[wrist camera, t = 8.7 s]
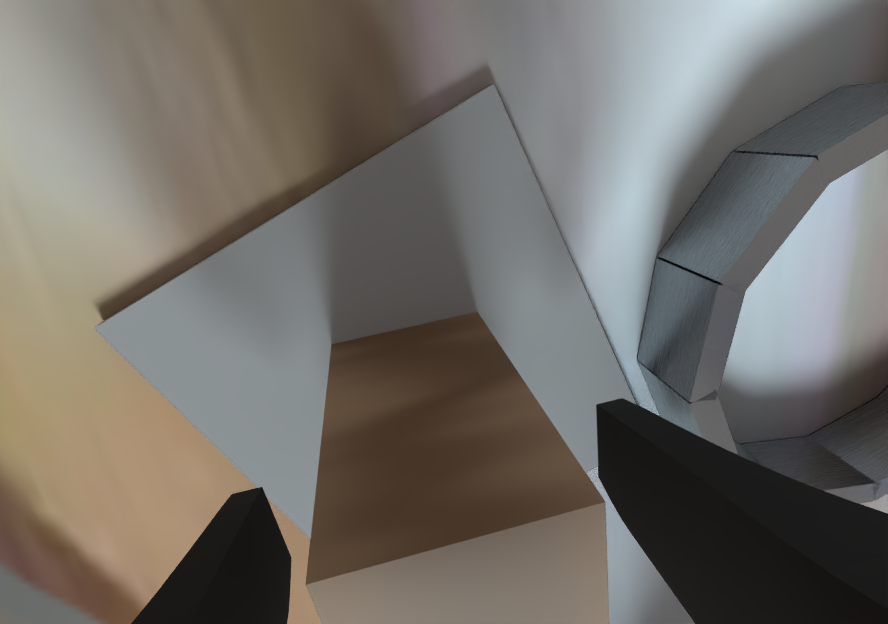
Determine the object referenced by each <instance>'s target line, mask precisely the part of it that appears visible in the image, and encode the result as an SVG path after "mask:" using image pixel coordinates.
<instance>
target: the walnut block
mask: <svg viewBox="0 0 888 624" xmlns="http://www.w3.org/2000/svg"><path fill="white" fill-rule="evenodd" d="M306 587H307V589H308V592H309V594H310V597H311V599H312V601H313V604H314V606H315V609H316V611H317V614H318V616H319V618H320V621H321V623H322V624H609V607H608V574H607V540H606V507H605V501H604V499H603V498H602V496H601V495H600V493H599V492H598V490H597V489H596V487H595V486H594V484H593V483H592V481H591V480H590V478H589V477H588V475H587V474H586V472H585V471H584V469H583V468H582V467H581V465H580V464H579V462H578V461H577V459H576V458H575V456H574V455H573V453H572V452H571V450H570V449H569V447H568V446H567V444H566V443H565V441H564V440H563V438H562V437H561V435H560V434H559V432H558V431H557V429H556V428H555V426H554V425H553V423H552V422H551V420H550V419H549V417H548V416H547V414H546V413H545V411H544V410H543V408H542V407H541V405H540V404H539V402H538V401H537V399H536V398H535V397H534V395H533V394H532V392H531V391H530V389H529V388H528V386H527V385H526V383H525V382H524V380H523V379H522V377H521V376H520V374H519V373H518V371H517V370H516V368H515V367H514V365H513V364H512V362H511V361H510V359H509V358H508V356H507V355H506V353H505V352H504V350H503V349H502V347H501V346H500V344H499V343H498V341H497V340H496V338H495V337H494V335H493V334H492V332H491V331H490V329H489V328H488V326H487V325H486V324H485V322H484V321H483V319H482V318H481V316H480V315H479V313H478V312H474V313H469V314H465V315H460V316H456V317H451V318H447V319H442V320H438V321H433V322H429V323H425V324H420V325H416V326H411V327H407V328H402V329H398V330H393V331H389V332H384V333H380V334H375V335H371V336H366V337H362V338H358V339H353V340H349V341H344V342H340V343H335V344H331V353H330V362H329V372H328V381H327V390H326V400H325V409H324V418H323V427H322V437H321V446H320V455H319V465H318V474H317V483H316V493H315V502H314V511H313V521H312V530H311V539H310V549H309V558H308V567H307V576H306Z"/></svg>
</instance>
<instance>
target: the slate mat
mask: <svg viewBox="0 0 888 624" xmlns="http://www.w3.org/2000/svg"><path fill="white" fill-rule="evenodd" d="M474 312H478V313H479V315H480V316H481V318H482V319H483V321H484V322H485V324H486V325H487V326H488V328H489V329H490V331H491V332H492V334H493V335H494V337H495V338H496V340H497V341H498V343H499V344H500V346H501V347H502V349H503V350H504V352H505V353H506V355H507V356H508V358H509V359H510V361H511V362H512V364H513V365H514V367H515V368H516V370H517V371H518V373H519V374H520V376H521V377H522V379H523V380H524V382H525V383H526V385H527V386H528V388H529V389H530V391H531V392H532V394H533V395H534V397H535V398H536V399H537V401H538V402H539V404H540V405H541V407H542V408H543V410H544V411H545V413H546V414H547V416H548V417H549V419H550V420H551V422H552V423H553V425H554V426H555V428H556V429H557V431H558V432H559V434H560V435H561V437H562V438H563V440H564V441H565V443H566V444H567V446H568V447H569V449H570V450H571V452H572V453H573V455H574V456H575V458H576V459H577V461H578V462H579V464H580V465H581V467H582V468H583V469H584V471H585V472H588V471H590V470H592V469H593V468H595V467H597V466H598V445H597V414H596V404H600V403H604V402H608V401H612V400H616V399H620V398H623V399H626V400H628V401H630V402H632V403H634V404H636V402H635V400H634V398H633V396H632V393H631V391H630V389H629V387H628V384H627V382H626V380H625V378H624V375H623V373H622V371H621V369H620V366H619V364H618V362H617V360H616V357H615V355H614V353H613V351H612V348H611V346H610V344H609V342H608V339H607V337H606V335H605V333H604V330H603V328H602V326H601V324H600V321H599V319H598V317H597V315H596V312H595V310H594V308H593V306H592V303H591V301H590V299H589V296H588V294H587V292H586V290H585V287H584V285H583V283H582V281H581V278H580V276H579V274H578V272H577V269H576V267H575V265H574V263H573V260H572V258H571V256H570V254H569V251H568V249H567V247H566V245H565V242H564V240H563V238H562V236H561V233H560V231H559V229H558V227H557V224H556V222H555V220H554V218H553V215H552V213H551V211H550V209H549V206H548V204H547V202H546V200H545V197H544V195H543V193H542V191H541V188H540V186H539V184H538V182H537V179H536V177H535V175H534V173H533V170H532V168H531V166H530V164H529V161H528V159H527V157H526V155H525V152H524V150H523V148H522V146H521V143H520V141H519V139H518V137H517V134H516V132H515V130H514V128H513V125H512V123H511V121H510V119H509V116H508V114H507V112H506V109H505V107H504V105H503V103H502V100H501V98H500V96H499V94H498V91H497V89H496V87H495V85H494V84H492V85H489V86H488V87H486V88H484V89H483V90H481V91H479V92H478V93H476V94H474V95H473V96H471V97H470V98H468V99H466V100H465V101H463V102H461V103H460V104H458V105H456V106H455V107H453V108H452V109H450V110H448V111H447V112H445V113H443V114H442V115H440V116H438V117H437V118H435V119H434V120H432V121H430V122H429V123H427V124H425V125H424V126H422V127H420V128H419V129H417V130H416V131H414V132H412V133H411V134H409V135H407V136H406V137H404V138H402V139H401V140H399V141H398V142H396V143H394V144H393V145H391V146H389V147H388V148H386V149H384V150H383V151H381V152H379V153H378V154H376V155H375V156H373V157H371V158H370V159H368V160H366V161H365V162H363V163H361V164H360V165H358V166H357V167H355V168H353V169H352V170H350V171H348V172H347V173H345V174H343V175H342V176H340V177H339V178H337V179H335V180H334V181H332V182H330V183H329V184H327V185H325V186H324V187H322V188H321V189H319V190H317V191H316V192H314V193H312V194H311V195H309V196H307V197H306V198H304V199H303V200H301V201H299V202H298V203H296V204H294V205H293V206H291V207H289V208H288V209H286V210H284V211H283V212H281V213H280V214H278V215H276V216H275V217H273V218H271V219H270V220H268V221H266V222H265V223H263V224H262V225H260V226H258V227H257V228H255V229H253V230H252V231H250V232H248V233H247V234H245V235H244V236H242V237H240V238H239V239H237V240H235V241H234V242H232V243H230V244H229V245H227V246H226V247H224V248H222V249H221V250H219V251H217V252H216V253H214V254H212V255H211V256H209V257H208V258H206V259H204V260H203V261H201V262H199V263H198V264H196V265H194V266H193V267H191V268H189V269H188V270H186V271H185V272H183V273H181V274H180V275H178V276H176V277H175V278H173V279H171V280H170V281H168V282H167V283H165V284H163V285H162V286H160V287H158V288H157V289H155V290H153V291H152V292H150V293H149V294H147V295H145V296H144V297H142V298H140V299H139V300H137V301H135V302H134V303H132V304H131V305H129V306H127V307H126V308H124V309H122V310H121V311H119V312H117V313H116V314H114V315H113V316H111V317H109V318H108V319H106V320H104V321H103V322H101V323H100V324H99V325H97V326H96V327H95V328H94V329H95V330H96V331H97V332H98V333H99V334H100V335H101V336H102V337H103V338H104V339H105V340H106V341H107V342H108V343H109V344H110V345H111V346H112V347H113V348H114V349H115V350H116V351H117V352H118V353H119V354H120V355H122V356H123V357H124V358H125V359H126V360H127V361H128V362H129V363H130V364H131V365H132V366H133V367H134V368H135V369H136V370H137V371H138V372H139V373H140V374H141V375H142V376H143V377H144V378H145V379H146V380H147V381H148V382H149V383H150V384H151V385H152V386H153V387H154V388H155V389H156V390H157V391H159V392H160V393H161V394H162V395H163V396H164V397H165V398H166V399H167V400H168V401H169V402H170V403H171V404H172V405H173V406H174V407H175V408H176V409H177V410H178V411H179V412H180V413H181V414H182V415H183V416H184V417H185V418H186V419H187V420H188V421H189V422H190V423H191V424H192V425H193V426H194V427H195V428H197V429H198V430H199V431H200V432H201V433H202V434H203V435H204V436H205V437H206V438H207V439H208V440H209V441H210V442H211V443H212V444H213V445H214V446H215V447H216V448H217V449H218V450H219V451H220V452H221V453H222V454H223V455H224V456H225V457H226V458H227V459H228V460H229V461H230V462H231V463H232V464H233V465H235V466H236V467H237V468H238V469H239V470H240V471H241V472H242V473H243V474H244V475H245V476H246V477H247V478H248V479H249V480H250V481H251V482H252V483H253V484H254V485H255V486H256V487H257V488H259V487H263V490H264V492H265V495H266V497H267V498H268V499H269V500H270V501H271V502H273V503H274V504H275V505H276V506H277V507H278V508H279V509H280V510H281V511H282V512H283V513H284V514H285V515H286V516H287V517H288V518H289V519H290V520H291V521H292V522H293V523H294V524H295V525H296V526H297V527H298V528H299V529H300V530H301V531H302V532H303V533H304V534H305V535H306V536H307V537H308V538H309V539H311V530H312V521H313V511H314V502H315V493H316V483H317V474H318V465H319V455H320V446H321V437H322V427H323V418H324V409H325V400H326V390H327V381H328V372H329V362H330V353H331V344H335V343H340V342H344V341H349V340H353V339H358V338H362V337H366V336H371V335H375V334H380V333H384V332H389V331H393V330H398V329H402V328H407V327H411V326H416V325H420V324H425V323H429V322H433V321H438V320H442V319H447V318H451V317H456V316H460V315H465V314H469V313H474Z"/></svg>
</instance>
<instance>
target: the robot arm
mask: <svg viewBox="0 0 888 624" xmlns="http://www.w3.org/2000/svg"><path fill="white" fill-rule="evenodd" d="M596 414H597V445H598V476H599V479H600V481H601V482H602V484H603V486H604V488H605V490H606V492H607V494H608V496H609V498H610V499H611V501H612V503H613V505H614V507H615V508H616V510H617V512H618V514H619V515H620V517H621V519H622V521H623V522H624V523H625V525H626V526H627V528H628V529H629V531H630V532H631V534H632V535H633V536H634V538H635V539H636V541H637V542H638V544H639V545H640V546H641V548H642V549H643V551H644V552H645V554H646V555H647V556H648V558H649V559H650V561H651V562H652V563H653V565H654V566H655V568H656V569H657V570H658V572H659V573H660V575H661V576H662V577H663V579H664V580H665V582H666V583H667V584H668V586H669V587H670V589H671V590H672V591H673V593H674V594H675V596H676V597H677V598H678V600H679V601H680V603H681V604H682V606H683V607H684V608H685V610H686V611H687V613H688V614H689V615H690V617H691V618H692V620H693V621H694V623H695V624H888V514H887V513H884V512H881V511H878V510H875V509H872V508H869V507H866V506H864V505H861V504H858V503H855V502H852V501H850V500H847V499H844V498H842V497H839V496H836V495H834V494H831V493H828V492H826V491H823V490H820V489H817V488H815V487H812V486H809V485H807V484H804V483H802V482H799V481H797V480H794V479H792V478H790V477H787V476H785V475H782V474H780V473H778V472H775V471H773V470H771V469H769V468H766V467H764V466H762V465H759V464H757V463H755V462H753V461H750V460H748V459H746V458H744V457H741V456H739V455H737V454H735V453H733V452H731V451H728V450H726V449H724V448H722V447H720V446H718V445H716V444H714V443H712V442H710V441H708V440H706V439H704V438H701V437H699V436H697V435H695V434H693V433H691V432H689V431H687V430H685V429H683V428H681V427H680V426H678V425H676V424H674V423H672V422H670V421H668V420H666V419H664V418H662V417H660V416H658V415H656V414H654V413H652V412H650V411H648V410H646V409H644V408H642V407H640V406H638V405H636V404H634V403H632V402H630V401H628V400H626V399H623V398H620V399H616V400H612V401H608V402H604V403H600V404H596ZM290 579H291V556H290V553H289V551H288V548H287V546H286V544H285V541H284V539H283V536H282V534H281V531H280V529H279V526H278V524H277V522H276V519H275V517H274V514H273V512H272V509H271V507H270V504H269V502H268V500H267V497H266V495H265V492H264V490H263V487H259V488H255V489H251V490H247V491H243V492H239V493H235V494H232V495H231V496H230V497H229V498H228V500H227V501H226V502H225V503H224V505H223V506H222V507H221V509H220V510H219V511H218V513H217V514H216V515H215V517H214V518H213V519H212V521H211V522H210V523H209V525H208V526H207V527H206V529H205V530H204V531H203V533H202V534H201V535H200V537H199V538H198V539H197V541H196V542H195V543H194V545H193V546H192V547H191V549H190V550H189V551H188V553H187V554H186V555H185V557H184V558H183V559H182V561H181V562H180V563H179V564H178V566H177V567H176V568H175V570H174V571H173V572H172V574H171V575H170V576H169V577H168V579H167V580H166V581H165V583H164V584H163V585H162V587H161V588H160V589H159V590H158V592H157V593H156V594H155V596H154V597H153V598H152V599H151V600H150V602H149V603H148V604H147V605H146V606H145V608H144V609H143V610H142V611H141V612H140V614H139V615H138V616H137V617H136V619H135V620H134V621H133V622H132V623H131V624H287V619H288V612H289V598H290Z"/></svg>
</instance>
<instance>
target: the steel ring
mask: <svg viewBox="0 0 888 624" xmlns="http://www.w3.org/2000/svg"><path fill="white" fill-rule="evenodd" d="M887 149H888V82H885V83H873V84H862V85H850V86H843V87H840V88H838V89H837V90H835V91H833V92H831V93H830V94H828V95H826V96H825V97H823V98H821V99H820V100H818V101H816V102H815V103H813V104H811V105H810V106H808V107H806V108H804V109H803V110H801V111H799V112H798V113H796V114H794V115H793V116H791V117H789V118H788V119H786V120H784V121H782V122H781V123H779V124H777V125H776V126H774V127H772V128H771V129H769V130H767V131H766V132H764V133H762V134H760V135H759V136H757V137H755V138H754V139H752V140H750V141H749V142H747V143H745V144H744V145H742V146H740V147H739V148H737V149H735V150H734V152H731V154H730V155H729V157H728V158H727V159H726V161H725V162H724V164H723V165H722V166H721V168H720V169H719V171H718V172H717V173H716V175H715V176H714V178H713V179H712V180H711V182H710V183H709V185H708V186H707V187H706V189H705V190H704V192H703V193H702V194H701V196H700V197H699V199H698V200H697V201H696V203H695V204H694V206H693V207H692V208H691V210H690V211H689V213H688V214H687V215H686V217H685V218H684V220H683V221H682V222H681V224H680V225H679V227H678V228H677V229H676V231H675V232H674V234H673V235H672V236H671V238H670V239H669V241H668V242H667V243H666V245H665V246H664V248H663V249H662V250H661V252H660V253H659V255H658V257H660V258H657V259H656V264H655V269H654V274H653V280H652V285H651V290H650V295H649V301H648V306H647V311H646V316H645V322H644V327H643V332H642V337H641V343H640V348H639V353H638V359H637V360H639V361H638V364H639V366H640V369H641V371H642V373H643V376H644V378H645V380H646V383H647V385H648V388H649V390H650V392H651V395H652V397H653V400H654V402H655V404H656V407H657V409H658V411H659V414H660V416H661V417H662V418H664V419H666V420H668V421H670V422H672V423H674V424H676V425H678V426H680V427H681V428H683V429H685V430H687V431H689V432H691V433H693V434H695V435H697V436H699V437H701V438H704V439H706V440H708V441H710V442H712V443H714V444H716V445H718V446H720V447H722V448H724V449H726V450H728V451H731V452H733V453H735V454H737V455H739V456H741V457H744V458H746V459H748V460H750V461H753V462H755V463H757V464H759V465H762V466H764V467H766V468H769V469H771V470H773V471H775V472H778V473H780V474H782V475H785V476H787V477H790V478H792V479H794V480H797V481H799V482H802V483H804V484H807V485H809V486H812V487H815V488H817V489H820V490H823V491H826V492H828V493H831V494H834V495H836V496H839V497H842V498H844V499H847V500H850V501H852V502H855V503H858V504H859V503H865V502H872V501H873V500H874V501H875V500H877V499H879V498H880V497H882V496H884V495H886V494H888V387H887V388H886V389H885V390H884V391H883V392H882V393H881V394H880V395H879V397H877V398H875V399H874V400H872V401H870V402H868V403H867V404H865V405H863V406H861V407H859V408H858V409H856V410H854V411H852V412H851V413H849V414H847V415H845V416H843V417H842V418H840V419H838V420H836V421H835V422H833V423H831V424H829V425H827V426H826V427H824V428H822V429H820V430H819V431H817V432H815V433H813V434H811V435H810V436H807V437H798V438H790V439H781V440H772V441H763V442H755V443H746V444H738V443H736V442H735V441H733V438H732V435H731V432H730V429H729V426H728V423H727V420H726V417H725V414H724V411H723V408H722V406H721V403H720V400H719V397H718V391H719V387H720V384H721V380H722V376H723V373H724V369H725V365H726V361H727V358H728V354H729V350H730V347H731V343H732V339H733V336H734V332H735V328H736V325H737V321H738V317H739V313H740V310H741V306H742V302H743V299H744V295H745V291H746V289H747V288H748V287H749V286H750V284H751V283H752V282H753V281H754V279H755V278H756V277H757V275H758V274H759V273H760V272H761V270H762V269H763V268H764V266H765V265H766V264H767V263H768V261H769V260H770V259H771V258H772V256H773V255H774V254H775V252H776V251H777V250H778V249H779V247H780V246H781V245H782V243H783V242H784V241H785V240H786V238H787V237H788V236H789V234H790V233H791V232H792V231H793V229H794V228H795V227H796V226H797V224H798V223H799V222H800V220H801V219H802V218H803V217H804V215H805V214H806V213H807V211H808V210H809V209H810V208H811V206H812V205H813V204H814V202H815V201H816V200H817V199H818V197H819V196H820V195H821V194H822V192H823V191H824V190H825V188H826V187H827V186H828V185H829V183H831V182H832V181H834V180H836V179H837V178H839V177H841V176H843V175H844V174H846V173H848V172H849V171H851V170H853V169H855V168H856V167H858V166H860V165H861V164H863V163H865V162H867V161H868V160H870V159H872V158H873V157H875V156H877V155H879V154H880V153H882V152H884V151H885V150H887Z"/></svg>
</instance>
